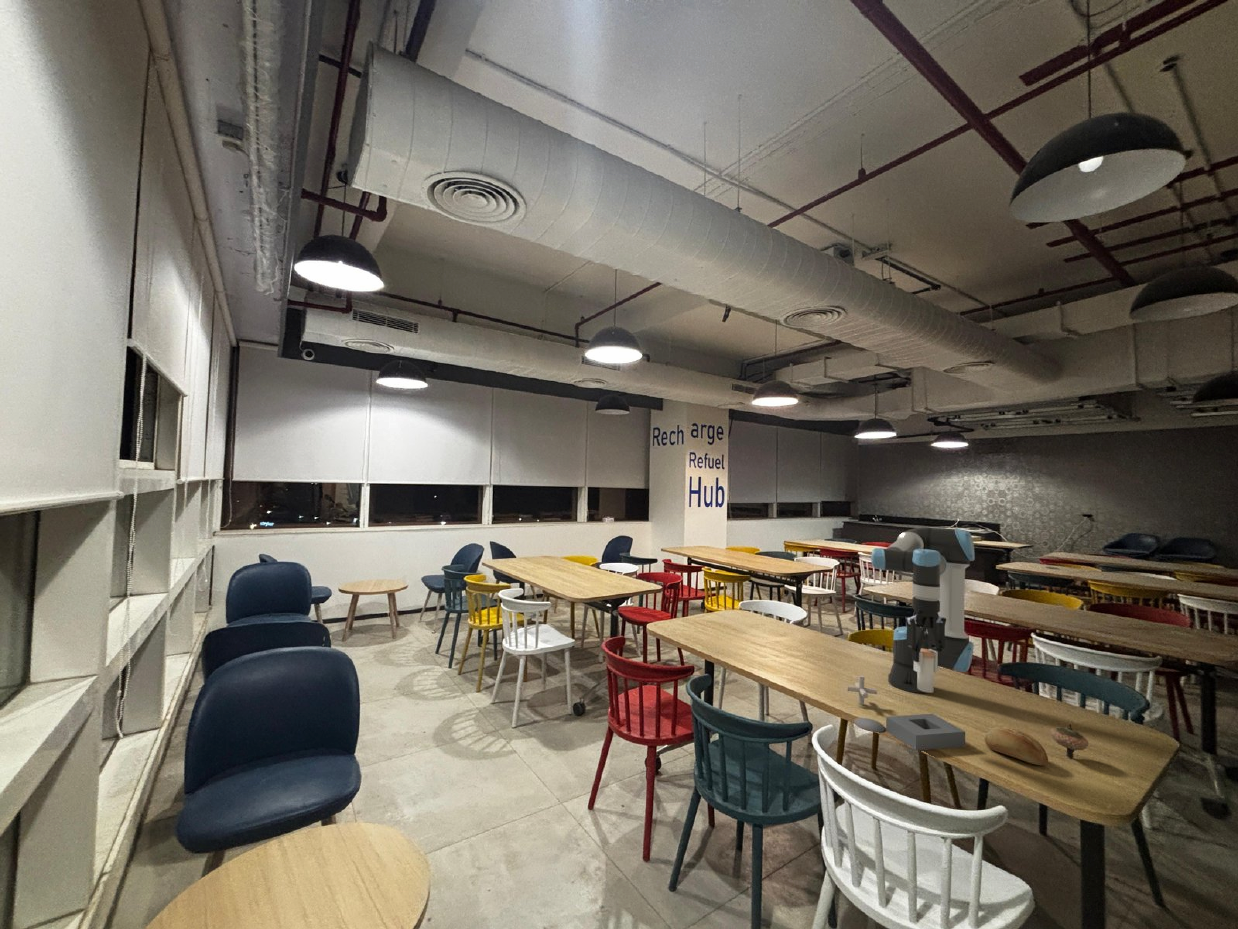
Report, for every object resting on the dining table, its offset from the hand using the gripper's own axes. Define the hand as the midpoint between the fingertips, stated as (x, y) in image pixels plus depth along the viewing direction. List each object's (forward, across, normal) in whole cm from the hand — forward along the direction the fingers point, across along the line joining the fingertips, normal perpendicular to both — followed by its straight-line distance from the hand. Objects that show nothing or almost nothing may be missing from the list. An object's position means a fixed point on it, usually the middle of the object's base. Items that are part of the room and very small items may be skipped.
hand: (925, 671), depth 155 cm
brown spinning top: (+21, -36, +16) cm, 45 cm away
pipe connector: (+21, +3, -25) cm, 33 cm away
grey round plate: (+21, +12, -10) cm, 26 cm away
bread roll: (+21, -19, +13) cm, 31 cm away
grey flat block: (+21, 0, 0) cm, 21 cm away
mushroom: (+6, 0, 0) cm, 6 cm away
